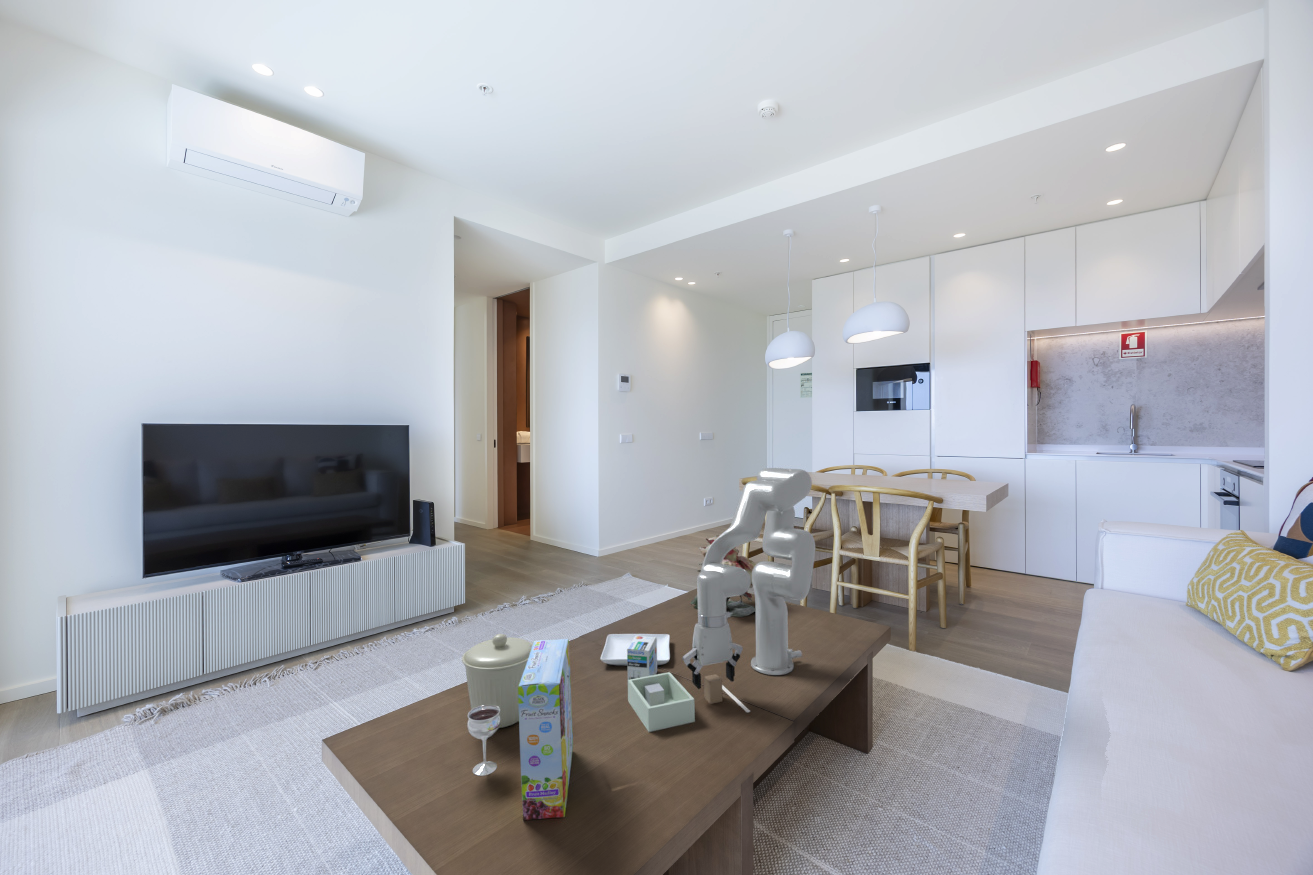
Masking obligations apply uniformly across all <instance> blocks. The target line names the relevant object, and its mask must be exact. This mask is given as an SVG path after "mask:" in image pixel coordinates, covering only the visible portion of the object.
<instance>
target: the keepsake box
mask: <svg viewBox="0 0 1313 875" xmlns="http://www.w3.org/2000/svg"><path fill="white" fill-rule="evenodd" d="M658 683H659V684H660V686H661V687H662V688H663V689H664V704H660V705H655V706H650V705H649V704H648V703H647V701H646V700H645V686H648V685H653V684H658ZM627 700H628V703H629V705H630V706H631V708H632V709H633V711H634V712H635V714H636V715H637V717H638V718H639V720H640V721H641V723H642V724H643V726H644V727H645V729H646V730H647V732H648V733H651V732H655V731H660V730H664V729H668V728H674V727H678V726H682V725H686V724H691V723H695V722H696V719H695V718H696V717H695V716H696V714H695V713H696V711H695V708H696V707H695V698H694V697H693V696H692V695H691V694H690V693H689V692H688V691H687V689H686V688H685V687H684V686H683V684H681V682H679V680H677V678H676V677H675V676H674V675H673V674H672V673H671V672H663V673H658V674H657V673H656V675H652V676H646V677H641V678H635V679H630V680H628V679H627Z"/></svg>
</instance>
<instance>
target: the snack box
mask: <svg viewBox="0 0 1313 875" xmlns="http://www.w3.org/2000/svg"><path fill="white" fill-rule="evenodd" d="M532 643H533V645H532V648H531V652H530V655H529V658H528V661H527V664H526V667H525V669H524V672H523V675H522V678H521V681H520V684H519V686H518V707H519V721H518V726H519V727H518V729H519V757H520V759H519V760H520V782H521V808H522V810H521V811H522V812H521V813H522V820H523V821H530V820H542V819H552V818H553V819H555V818H565V817H566V809H567V802H568V793H569V784H570V776H571V769H572V768H571V767H572V760H573V759H572V758H573V750H574V735H573V710H572V709H573V708H572V690H571V687H572V686H571V666H570V665H571V662H570V661H571V660H570V656H571V655H570V639H569V638H559V639H540V640H533V642H532Z"/></svg>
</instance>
